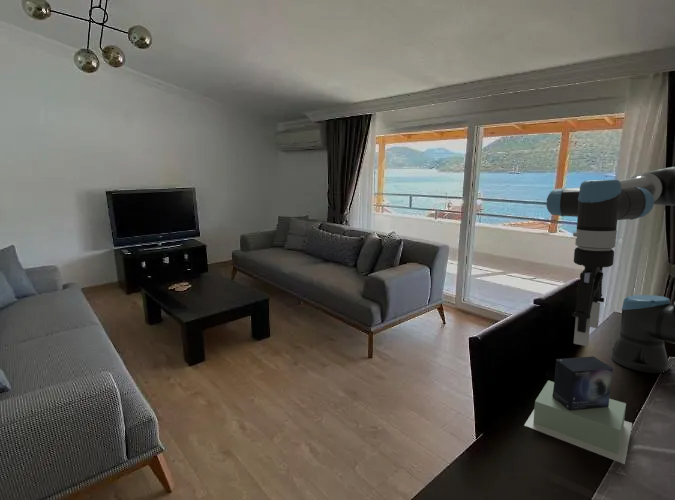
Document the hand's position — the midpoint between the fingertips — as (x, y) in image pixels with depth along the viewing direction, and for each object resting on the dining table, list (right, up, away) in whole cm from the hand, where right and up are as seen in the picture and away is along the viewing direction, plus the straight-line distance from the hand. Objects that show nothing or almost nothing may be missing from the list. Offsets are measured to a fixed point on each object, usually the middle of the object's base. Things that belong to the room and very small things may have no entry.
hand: (586, 335), depth 87 cm
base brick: (+1, -23, +4) cm, 24 cm away
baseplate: (+1, -24, +4) cm, 25 cm away
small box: (+1, -18, +3) cm, 18 cm away
